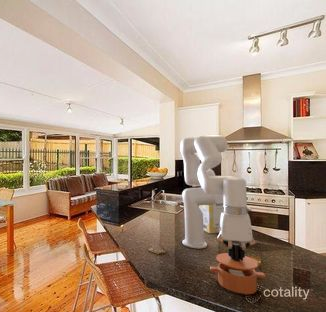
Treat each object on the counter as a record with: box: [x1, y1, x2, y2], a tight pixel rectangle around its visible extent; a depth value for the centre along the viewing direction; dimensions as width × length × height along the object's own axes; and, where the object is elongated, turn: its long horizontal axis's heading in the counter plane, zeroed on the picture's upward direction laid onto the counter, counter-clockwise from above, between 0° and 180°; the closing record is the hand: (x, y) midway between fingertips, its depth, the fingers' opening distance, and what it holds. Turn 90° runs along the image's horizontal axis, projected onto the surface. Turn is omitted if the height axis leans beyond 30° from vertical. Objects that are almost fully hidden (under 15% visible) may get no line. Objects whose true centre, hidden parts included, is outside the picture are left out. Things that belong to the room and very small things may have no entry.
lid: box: [215, 242, 259, 270], centre depth 88 cm, size 13×13×7 cm
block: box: [229, 269, 244, 276], centre depth 88 cm, size 4×4×4 cm
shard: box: [148, 243, 166, 255], centre depth 122 cm, size 11×8×2 cm
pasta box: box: [198, 186, 224, 234], centre depth 154 cm, size 18×10×28 cm, turn 98°
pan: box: [209, 262, 267, 295], centre depth 88 cm, size 12×18×6 cm
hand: (236, 258), depth 88 cm, fingers closed on lid, 2 cm apart
